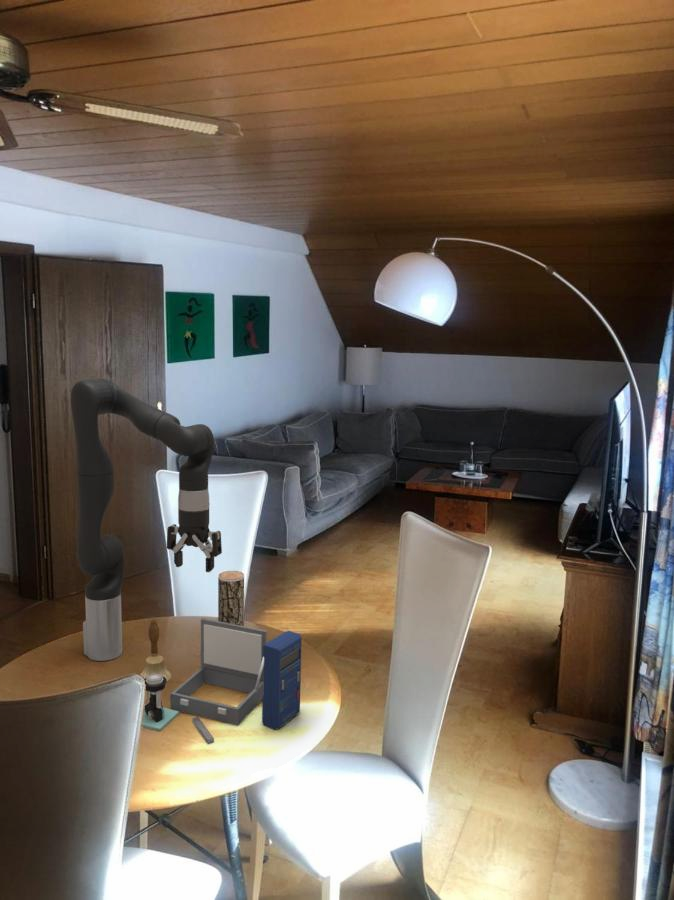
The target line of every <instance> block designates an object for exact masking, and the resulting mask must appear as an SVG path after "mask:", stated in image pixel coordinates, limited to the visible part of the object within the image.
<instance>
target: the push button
mask: <svg viewBox="0 0 674 900" xmlns="http://www.w3.org/2000/svg"><path fill="white" fill-rule="evenodd" d="M144 680H145V684H146V690H145V691H146V692H148V703H147V704H144V706H143V707H144V708H143V710H145V712H146V714H147V715H148V718H150V719H151V718H153V719H154V720H155V722H158V721H160V720H162V719H164V708H165V707H164V706H163V702H162V691H163V690H164V689H165V687H166V684H167V683H168V682H167V680H166V678H165V677H163V676H162V675H161V674H158V673H153V674H150V675H148V676H147V678H145V679H144Z"/></svg>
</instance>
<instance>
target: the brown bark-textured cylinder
mask: <svg viewBox="0 0 674 900" xmlns="http://www.w3.org/2000/svg"><path fill="white" fill-rule="evenodd" d="M217 580H218V581H217V582H218V583H217V584H218V585H217V587H218V588H217V589H218V590H217V593H218V595H217V597H218V598H217V605H218V606H217V609H218V610H217V613H218V614H217V621H219V622H225V623H230V624H235V625H240V626H245V573H244V572H242V571H239V570H226V571H222V572H220V573H219V574H218V579H217Z"/></svg>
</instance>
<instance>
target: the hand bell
mask: <svg viewBox="0 0 674 900" xmlns="http://www.w3.org/2000/svg"><path fill="white" fill-rule="evenodd" d="M148 637H149V641H150V653H151V654H150V655H149V656H148V657H146V659H145V663H144V668H143V671H142V672H141V673H140V674H139V675H141V676H143V677H144V679H145V678H147V676H148V675H150V674H153V673H158V674H161V675H162V676H163V677H165V678H166V680H167V682H166V683H168V682H169V681H170V680H171V679H172V674H171V672H170V671H169V670H168V669H167V668H166V665H165V661H164V657H163V656H162V655H159V649H158V641H159V638H160V628H159V625H158V623H157V620H156V619H151V620H150V623H149V626H148Z"/></svg>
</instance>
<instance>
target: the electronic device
mask: <svg viewBox="0 0 674 900" xmlns="http://www.w3.org/2000/svg"><path fill="white" fill-rule="evenodd" d="M302 639H303V638H302V635H301V633H297V632H294V631H290V630H287V631H284V632H282V633H280V635H278V636H276V637H274V638H272V639H271V640H269V641H267V643H266V644H264V645H263V657H264V696H262V700H261V701H262V702H261V703H262V704H261V708H262V709H261V723H262V725H263V726H264V727H267V728H269V729H272V730H278V729H280V728H281V727H283V726H284V725H285V724H287V723H288V722H289V721H290V720H292V719H293V718H295V717H296V715H298V714H300V712H301V685H302V684H301V681H302V680H301V679H302V677H301V675H302Z"/></svg>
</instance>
